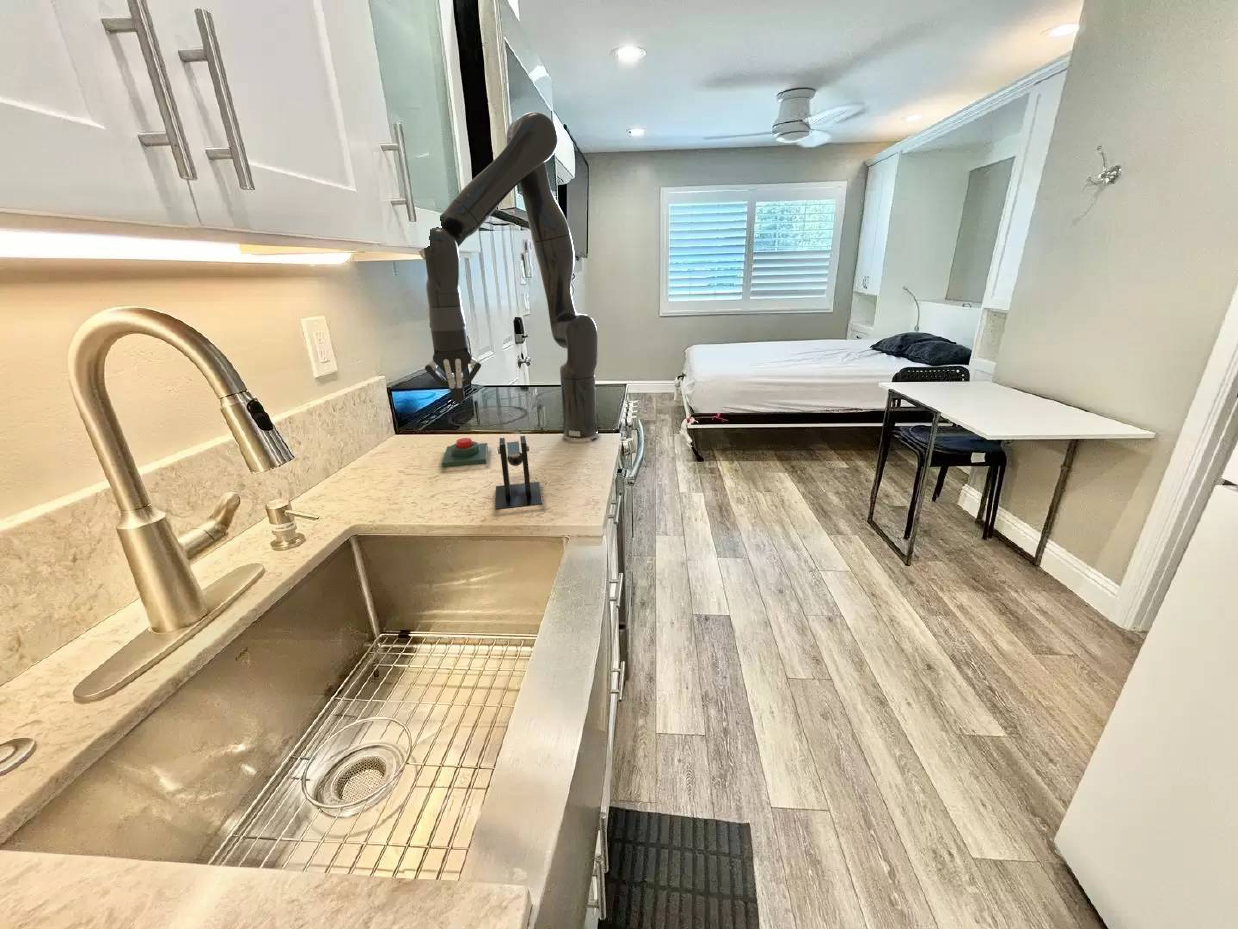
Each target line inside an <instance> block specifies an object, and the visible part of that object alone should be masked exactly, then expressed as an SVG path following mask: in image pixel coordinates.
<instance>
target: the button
mask: <svg viewBox="0 0 1238 929" xmlns="http://www.w3.org/2000/svg"><path fill="white" fill-rule="evenodd" d="M472 441H473V439H472V438H470V437H462V438H459V439H457V440H456V442H455V443H457V448H461V449H462V448H469V447H472Z"/></svg>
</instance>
